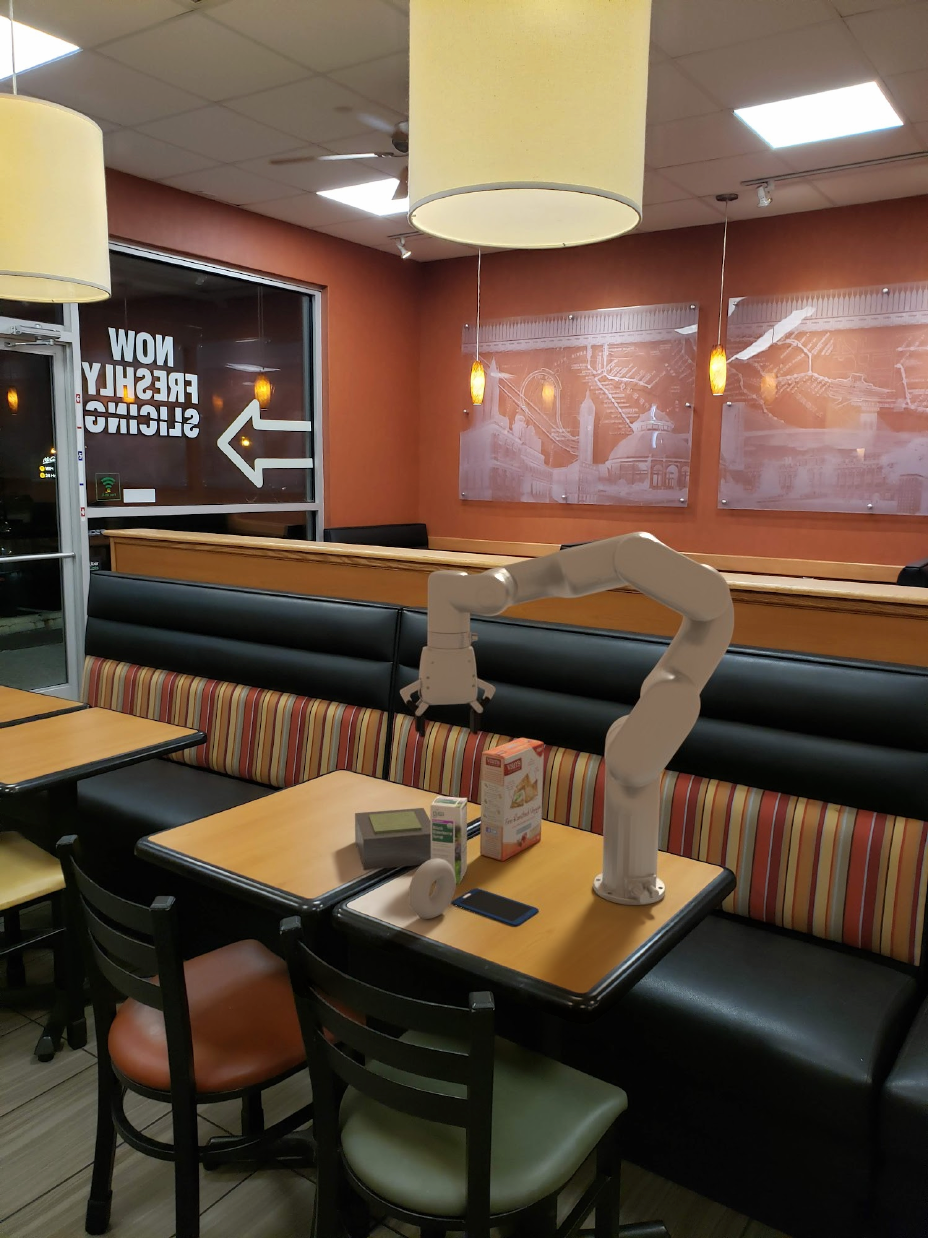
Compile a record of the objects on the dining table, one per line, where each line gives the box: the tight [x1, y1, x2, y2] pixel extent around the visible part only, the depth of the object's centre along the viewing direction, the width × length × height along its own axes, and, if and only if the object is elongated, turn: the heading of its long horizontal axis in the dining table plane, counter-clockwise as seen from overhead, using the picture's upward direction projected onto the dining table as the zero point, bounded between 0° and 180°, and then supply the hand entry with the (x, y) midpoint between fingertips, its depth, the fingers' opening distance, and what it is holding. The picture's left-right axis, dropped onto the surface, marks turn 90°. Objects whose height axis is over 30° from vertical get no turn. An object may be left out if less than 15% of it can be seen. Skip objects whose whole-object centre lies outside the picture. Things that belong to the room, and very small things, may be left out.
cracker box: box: [479, 737, 545, 862], centre depth 179 cm, size 14×6×21 cm, turn 143°
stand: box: [354, 807, 431, 871], centre depth 177 cm, size 14×14×6 cm
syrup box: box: [429, 795, 468, 884], centre depth 166 cm, size 6×6×14 cm
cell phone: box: [450, 887, 539, 928], centre depth 155 cm, size 7×14×1 cm, turn 53°
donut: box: [408, 858, 457, 920], centre depth 150 cm, size 10×4×10 cm, turn 139°
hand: (447, 734), depth 163 cm, fingers open, 9 cm apart
